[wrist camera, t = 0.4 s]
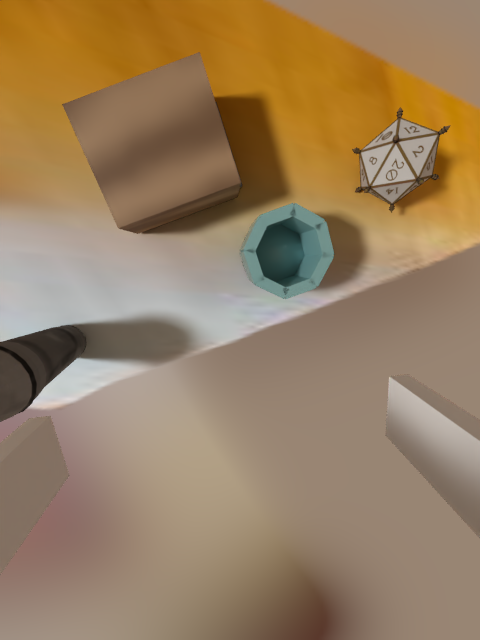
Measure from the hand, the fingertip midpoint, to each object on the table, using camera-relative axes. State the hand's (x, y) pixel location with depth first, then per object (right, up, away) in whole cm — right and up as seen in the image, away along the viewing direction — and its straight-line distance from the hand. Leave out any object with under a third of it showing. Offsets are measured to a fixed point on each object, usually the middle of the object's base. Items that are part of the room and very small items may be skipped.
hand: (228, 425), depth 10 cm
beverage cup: (-23, +1, +24) cm, 33 cm away
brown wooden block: (-8, +22, +20) cm, 30 cm away
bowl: (+5, +13, +23) cm, 27 cm away
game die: (+17, +22, +22) cm, 36 cm away
